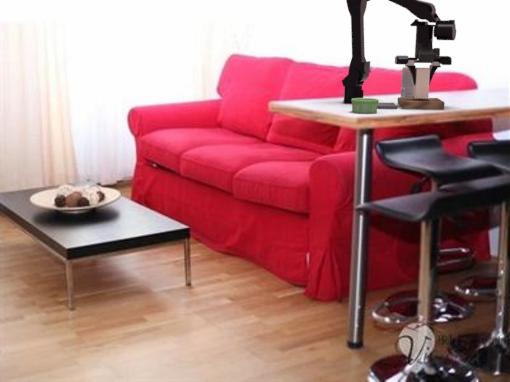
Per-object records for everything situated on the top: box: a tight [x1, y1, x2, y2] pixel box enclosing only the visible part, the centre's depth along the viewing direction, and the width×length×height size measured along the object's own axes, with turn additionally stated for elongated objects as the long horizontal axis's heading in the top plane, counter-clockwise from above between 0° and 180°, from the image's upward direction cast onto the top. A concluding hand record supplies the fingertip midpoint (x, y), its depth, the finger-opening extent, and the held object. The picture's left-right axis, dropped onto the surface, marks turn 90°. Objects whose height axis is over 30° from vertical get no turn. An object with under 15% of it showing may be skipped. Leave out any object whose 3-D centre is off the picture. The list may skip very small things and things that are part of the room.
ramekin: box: [351, 97, 380, 115], centre depth 253 cm, size 9×9×4 cm
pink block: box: [414, 67, 430, 98], centre depth 267 cm, size 4×4×10 cm
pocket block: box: [397, 96, 446, 111], centre depth 268 cm, size 14×14×2 cm
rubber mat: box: [377, 102, 398, 110], centre depth 267 cm, size 10×10×1 cm
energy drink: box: [400, 66, 415, 98], centre depth 291 cm, size 5×5×12 cm
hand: (421, 85), depth 267 cm, fingers closed on pink block, 4 cm apart
